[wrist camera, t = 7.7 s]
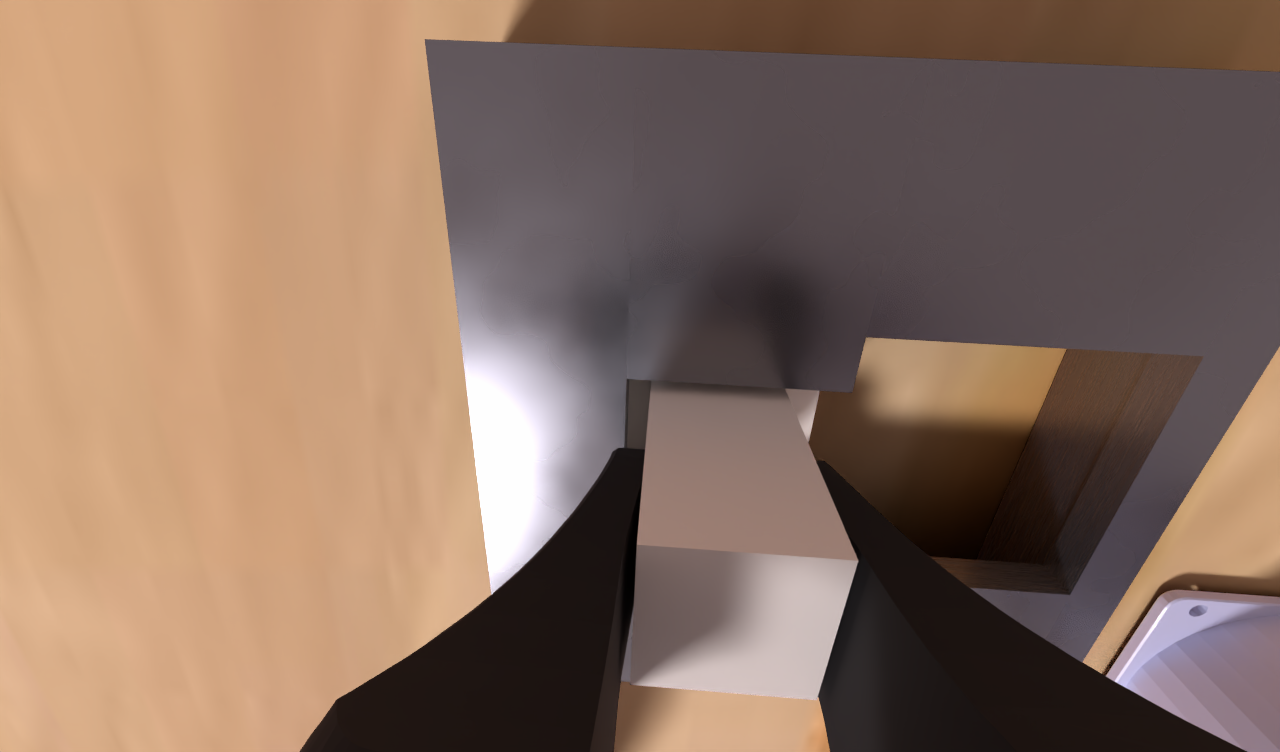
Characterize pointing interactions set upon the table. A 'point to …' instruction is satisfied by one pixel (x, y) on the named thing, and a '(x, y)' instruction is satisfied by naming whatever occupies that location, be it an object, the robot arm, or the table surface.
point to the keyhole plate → (863, 268)
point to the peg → (733, 542)
